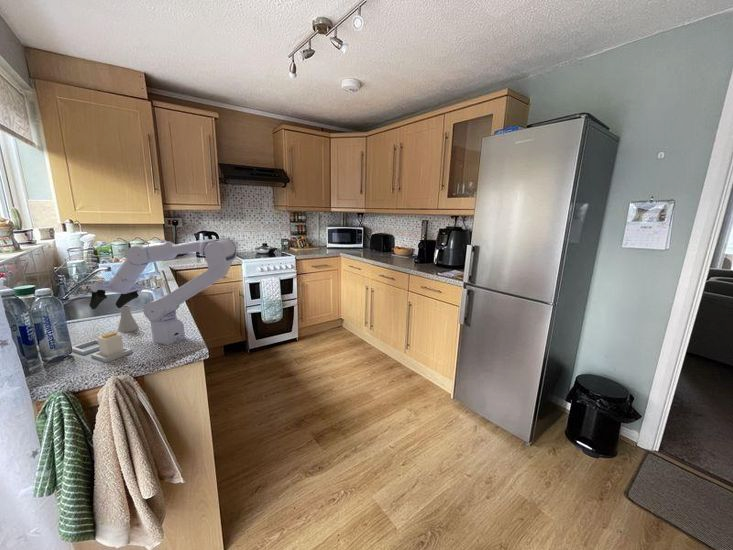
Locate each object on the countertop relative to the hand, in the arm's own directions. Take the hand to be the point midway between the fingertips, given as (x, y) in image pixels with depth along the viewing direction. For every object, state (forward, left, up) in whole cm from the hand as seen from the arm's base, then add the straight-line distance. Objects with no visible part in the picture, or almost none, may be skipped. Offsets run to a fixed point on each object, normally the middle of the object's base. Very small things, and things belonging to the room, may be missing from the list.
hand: (105, 306), depth 100 cm
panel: (-9, +7, -12) cm, 17 cm away
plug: (-15, +7, -11) cm, 20 cm away
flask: (+3, -7, -13) cm, 15 cm away
